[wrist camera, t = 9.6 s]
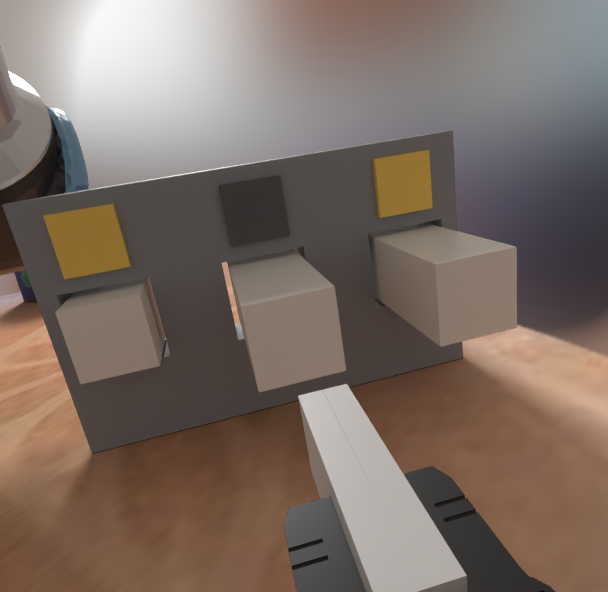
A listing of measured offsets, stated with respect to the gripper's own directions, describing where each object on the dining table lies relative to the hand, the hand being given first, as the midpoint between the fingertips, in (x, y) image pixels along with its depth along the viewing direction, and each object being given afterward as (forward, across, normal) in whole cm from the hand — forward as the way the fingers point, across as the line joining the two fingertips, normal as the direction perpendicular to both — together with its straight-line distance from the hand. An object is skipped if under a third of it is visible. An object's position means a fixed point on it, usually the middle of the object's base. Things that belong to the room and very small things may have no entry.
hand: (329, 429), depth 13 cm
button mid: (+13, 0, -3) cm, 13 cm away
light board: (+20, 0, -8) cm, 21 cm away
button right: (+13, +10, -3) cm, 17 cm away
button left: (+19, -9, -3) cm, 21 cm away
